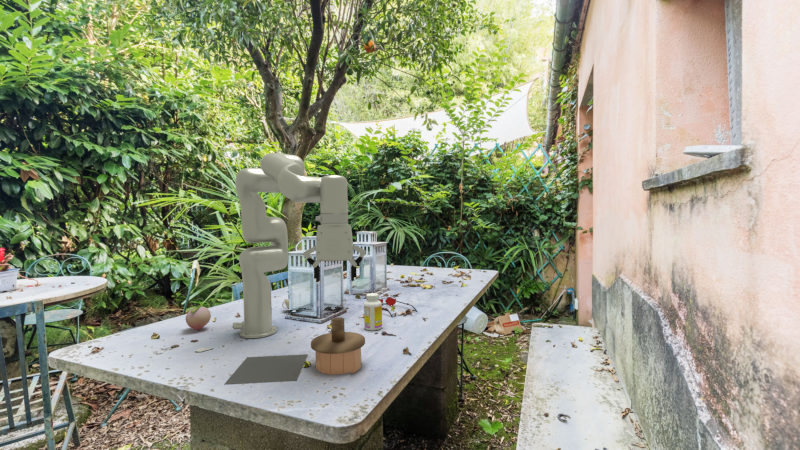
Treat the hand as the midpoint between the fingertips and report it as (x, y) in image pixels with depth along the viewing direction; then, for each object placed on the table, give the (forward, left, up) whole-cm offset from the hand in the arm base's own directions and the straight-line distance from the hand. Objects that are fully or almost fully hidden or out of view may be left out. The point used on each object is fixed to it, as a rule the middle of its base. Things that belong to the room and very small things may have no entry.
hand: (335, 280), depth 105 cm
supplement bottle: (+11, +33, -25) cm, 43 cm away
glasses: (+20, +57, -25) cm, 66 cm away
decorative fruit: (-55, +40, -25) cm, 73 cm away
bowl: (+1, -1, -24) cm, 24 cm away
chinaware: (-16, +67, -25) cm, 74 cm away
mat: (-18, -1, -24) cm, 30 cm away
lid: (+1, -1, -18) cm, 18 cm away
